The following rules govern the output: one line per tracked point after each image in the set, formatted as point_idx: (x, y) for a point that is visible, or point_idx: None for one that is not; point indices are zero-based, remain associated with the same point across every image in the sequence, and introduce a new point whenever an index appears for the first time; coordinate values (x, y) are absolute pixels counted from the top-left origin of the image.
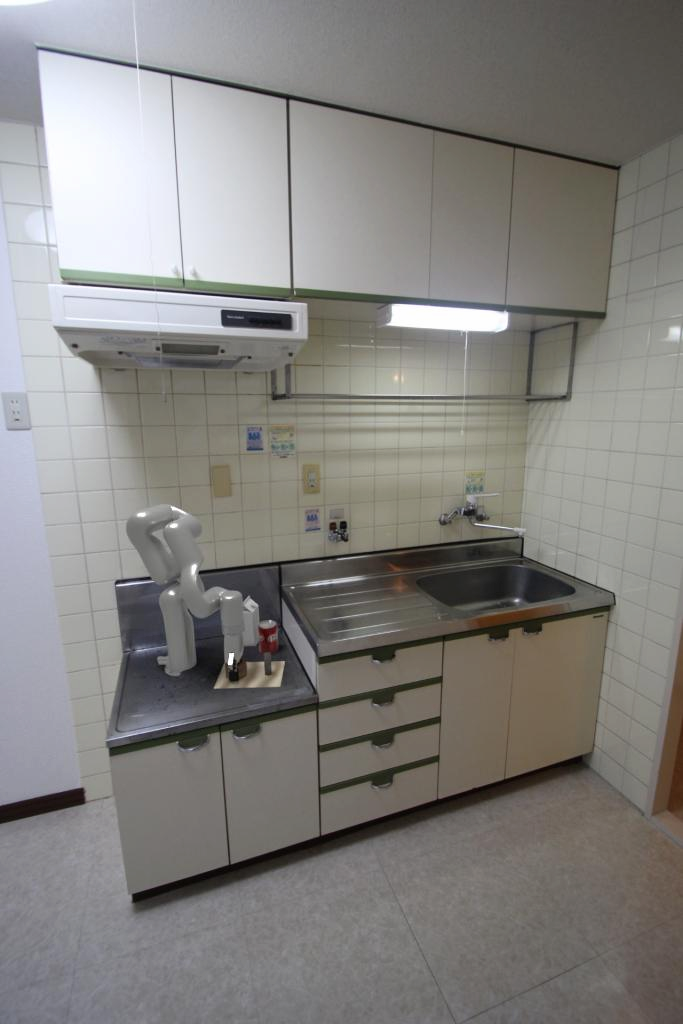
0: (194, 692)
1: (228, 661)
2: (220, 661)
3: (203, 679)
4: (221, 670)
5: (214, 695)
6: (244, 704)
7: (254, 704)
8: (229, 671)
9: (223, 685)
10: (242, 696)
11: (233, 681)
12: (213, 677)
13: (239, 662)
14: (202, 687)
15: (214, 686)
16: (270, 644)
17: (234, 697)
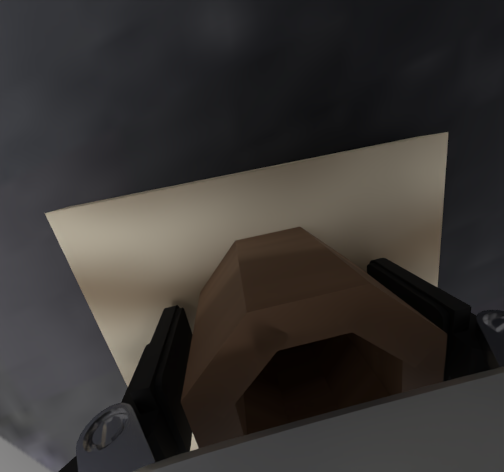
0: (2, 19)
1: (320, 329)
2: (496, 63)
3: (224, 18)
4: (328, 158)
5: (39, 225)
6: (33, 426)
7: (55, 462)
8: (97, 426)
9: (118, 272)
10: (100, 388)
11: (189, 318)
12: (266, 106)
13: (366, 359)
14: (104, 69)
15: (77, 206)
16: None
17: (73, 355)
